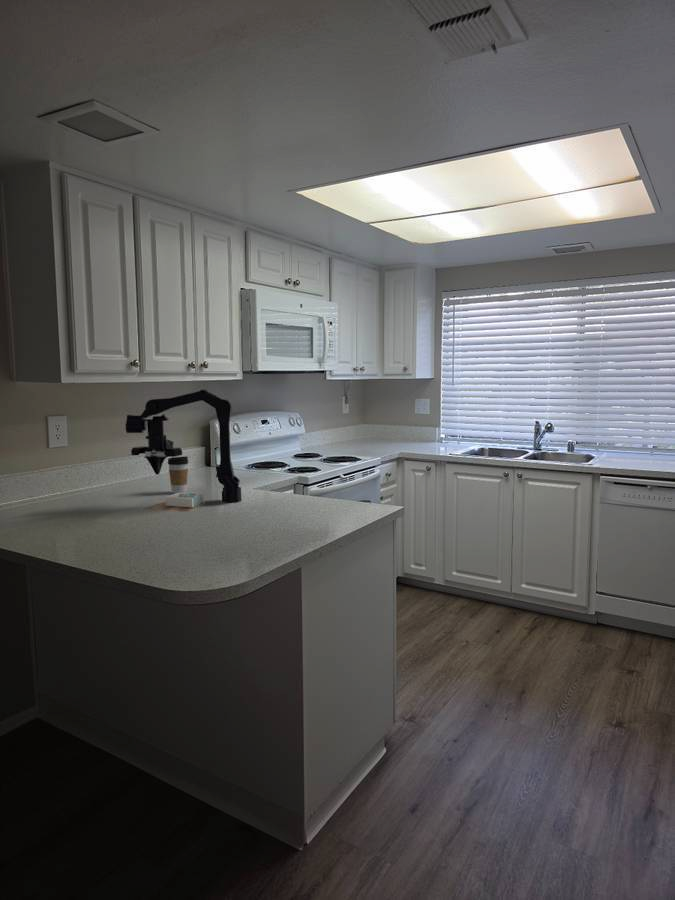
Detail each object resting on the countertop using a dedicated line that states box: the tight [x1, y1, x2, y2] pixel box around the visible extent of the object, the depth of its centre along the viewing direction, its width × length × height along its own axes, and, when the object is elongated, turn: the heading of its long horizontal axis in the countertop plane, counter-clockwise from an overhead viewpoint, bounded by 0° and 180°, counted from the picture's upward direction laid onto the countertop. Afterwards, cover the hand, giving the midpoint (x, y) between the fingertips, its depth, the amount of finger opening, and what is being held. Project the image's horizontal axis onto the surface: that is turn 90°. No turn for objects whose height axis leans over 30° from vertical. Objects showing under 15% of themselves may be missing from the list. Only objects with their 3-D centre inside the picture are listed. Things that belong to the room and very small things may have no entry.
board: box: [143, 500, 208, 513], centre depth 228 cm, size 18×14×1 cm
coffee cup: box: [167, 456, 189, 495], centre depth 258 cm, size 8×8×15 cm
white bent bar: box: [165, 492, 205, 507], centre depth 230 cm, size 11×8×3 cm
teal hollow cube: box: [184, 493, 201, 507], centre depth 229 cm, size 4×4×4 cm
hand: (157, 474), depth 232 cm, fingers closed
